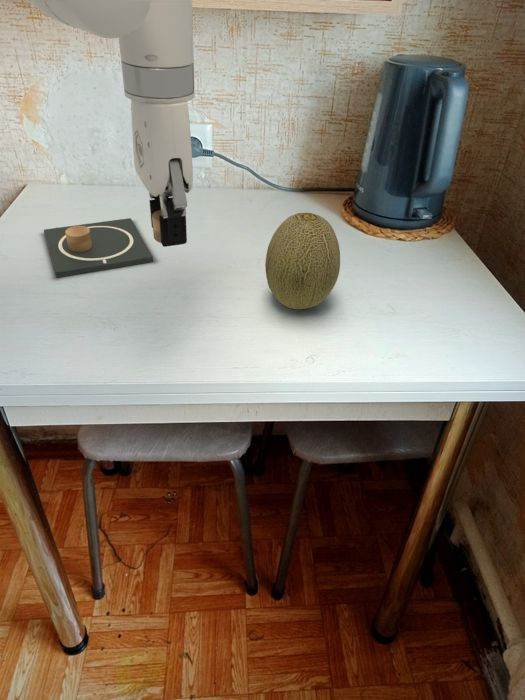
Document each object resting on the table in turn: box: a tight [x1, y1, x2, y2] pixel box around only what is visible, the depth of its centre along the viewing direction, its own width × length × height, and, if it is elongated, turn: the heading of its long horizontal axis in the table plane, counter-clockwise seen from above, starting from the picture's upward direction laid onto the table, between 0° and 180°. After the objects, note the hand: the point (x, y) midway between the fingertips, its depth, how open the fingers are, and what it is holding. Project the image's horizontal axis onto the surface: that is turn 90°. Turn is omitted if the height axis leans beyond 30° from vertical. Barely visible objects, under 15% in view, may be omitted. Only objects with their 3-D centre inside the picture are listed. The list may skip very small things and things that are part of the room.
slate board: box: [43, 217, 154, 278], centre depth 91 cm, size 16×16×1 cm
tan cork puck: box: [65, 225, 92, 252], centre depth 88 cm, size 4×4×3 cm
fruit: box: [264, 212, 341, 310], centre depth 76 cm, size 11×11×15 cm
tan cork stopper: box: [152, 210, 162, 244], centre depth 65 cm, size 4×4×3 cm
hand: (169, 234), depth 66 cm, fingers closed on tan cork stopper, 4 cm apart
